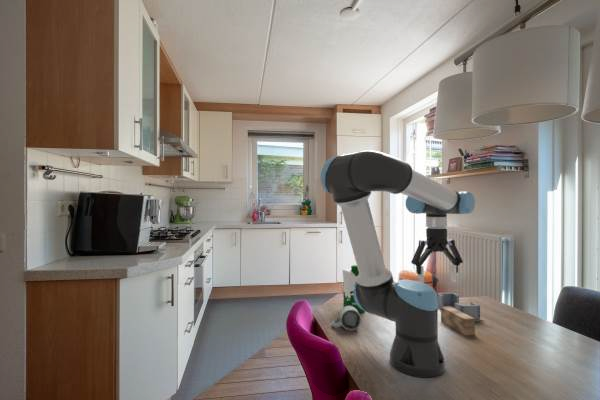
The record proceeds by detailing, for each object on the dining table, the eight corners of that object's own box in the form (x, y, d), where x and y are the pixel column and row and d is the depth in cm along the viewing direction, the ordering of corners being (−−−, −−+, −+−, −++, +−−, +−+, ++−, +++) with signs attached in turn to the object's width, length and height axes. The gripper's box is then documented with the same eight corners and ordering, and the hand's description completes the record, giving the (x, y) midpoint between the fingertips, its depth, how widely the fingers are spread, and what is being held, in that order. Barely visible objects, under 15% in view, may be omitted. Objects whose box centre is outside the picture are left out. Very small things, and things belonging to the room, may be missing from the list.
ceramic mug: (358, 322, 126) (357, 303, 126) (361, 330, 118) (361, 309, 118) (331, 322, 126) (330, 303, 126) (333, 331, 118) (332, 310, 118)
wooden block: (475, 335, 114) (474, 318, 114) (465, 336, 113) (464, 319, 113) (450, 321, 128) (449, 306, 128) (441, 321, 127) (440, 306, 127)
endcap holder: (483, 320, 127) (483, 305, 127) (459, 321, 126) (459, 306, 126) (454, 305, 147) (454, 292, 147) (434, 305, 146) (433, 292, 146)
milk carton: (349, 315, 135) (349, 267, 135) (340, 308, 143) (340, 264, 143) (367, 312, 137) (367, 266, 138) (357, 306, 146) (357, 263, 146)
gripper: (459, 226, 129) (460, 278, 129) (402, 227, 126) (402, 280, 126) (472, 227, 122) (473, 282, 122) (411, 229, 119) (411, 285, 118)
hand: (437, 282), depth 124 cm, fingers open, 13 cm apart
